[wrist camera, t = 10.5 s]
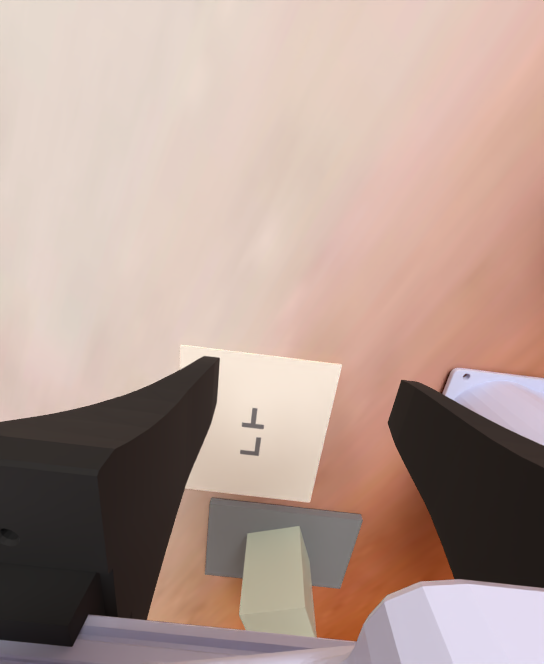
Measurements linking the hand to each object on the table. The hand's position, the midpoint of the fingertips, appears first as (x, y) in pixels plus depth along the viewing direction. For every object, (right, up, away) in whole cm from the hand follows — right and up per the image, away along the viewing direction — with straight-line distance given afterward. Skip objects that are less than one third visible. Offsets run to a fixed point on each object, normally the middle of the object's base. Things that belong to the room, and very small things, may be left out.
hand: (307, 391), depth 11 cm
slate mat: (-1, -18, +17) cm, 25 cm away
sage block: (-1, -18, +16) cm, 25 cm away
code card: (-3, -6, +12) cm, 14 cm away
